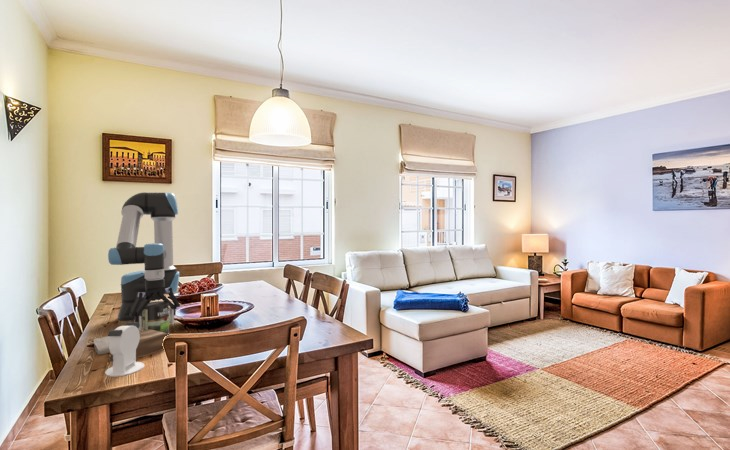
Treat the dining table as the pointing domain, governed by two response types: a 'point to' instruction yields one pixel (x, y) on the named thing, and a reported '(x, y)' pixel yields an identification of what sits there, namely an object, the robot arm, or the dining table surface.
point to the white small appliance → (124, 350)
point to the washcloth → (102, 345)
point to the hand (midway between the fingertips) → (156, 327)
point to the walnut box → (149, 342)
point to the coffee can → (156, 316)
